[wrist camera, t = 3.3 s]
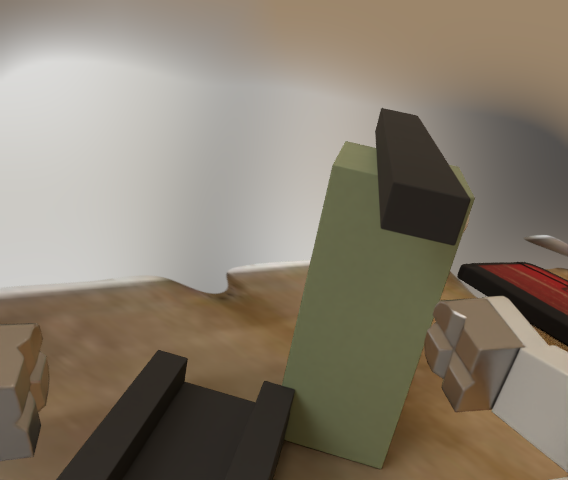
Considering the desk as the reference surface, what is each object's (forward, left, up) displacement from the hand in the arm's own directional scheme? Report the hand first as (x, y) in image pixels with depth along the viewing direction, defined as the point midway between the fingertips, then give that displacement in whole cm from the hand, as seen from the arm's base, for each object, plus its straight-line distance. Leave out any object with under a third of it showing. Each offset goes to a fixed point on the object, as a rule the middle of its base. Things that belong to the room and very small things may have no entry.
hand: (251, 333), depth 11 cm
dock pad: (-4, +13, -21) cm, 25 cm away
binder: (+30, +56, -21) cm, 67 cm away
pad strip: (+3, +23, -1) cm, 23 cm away
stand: (+4, +24, -21) cm, 32 cm away
